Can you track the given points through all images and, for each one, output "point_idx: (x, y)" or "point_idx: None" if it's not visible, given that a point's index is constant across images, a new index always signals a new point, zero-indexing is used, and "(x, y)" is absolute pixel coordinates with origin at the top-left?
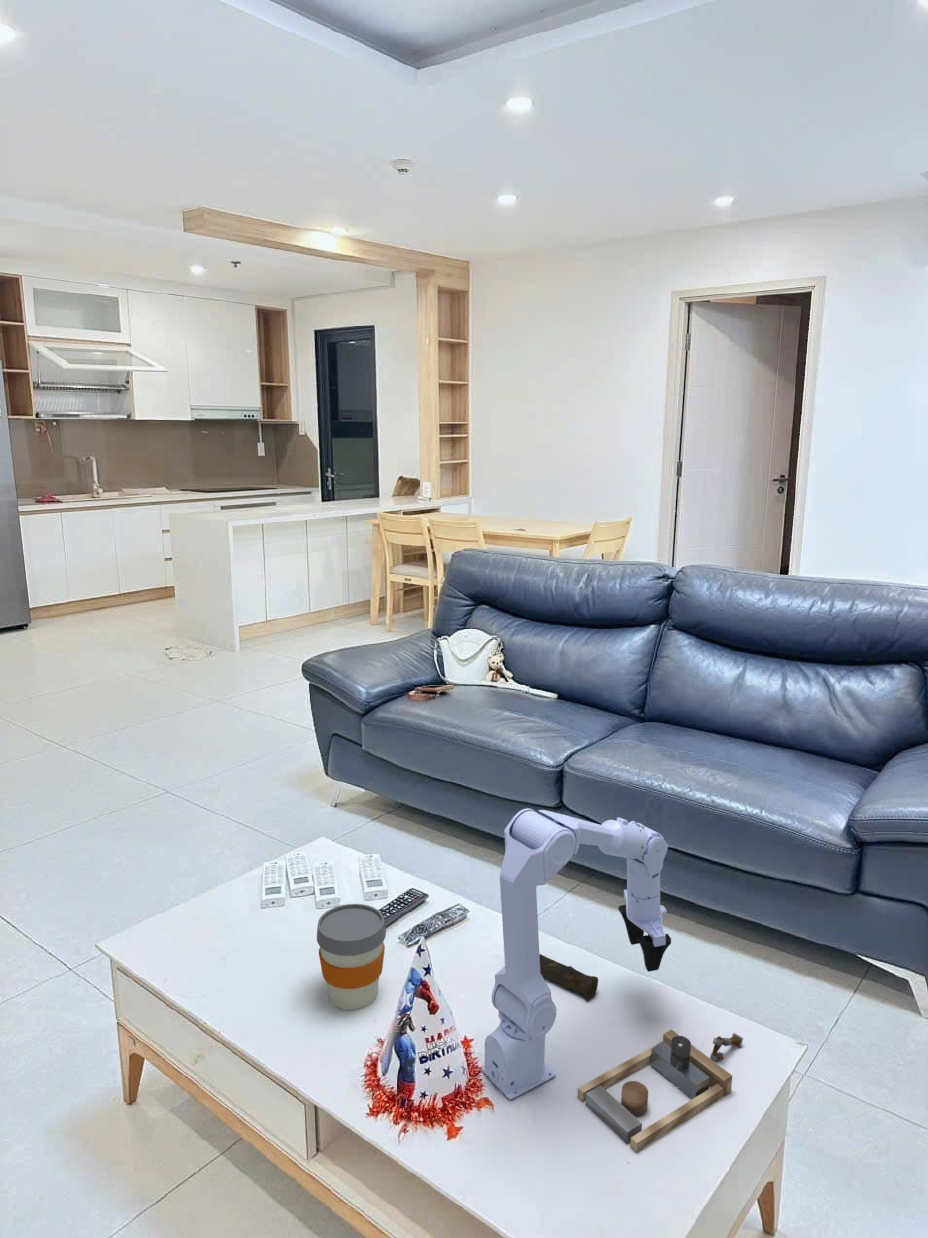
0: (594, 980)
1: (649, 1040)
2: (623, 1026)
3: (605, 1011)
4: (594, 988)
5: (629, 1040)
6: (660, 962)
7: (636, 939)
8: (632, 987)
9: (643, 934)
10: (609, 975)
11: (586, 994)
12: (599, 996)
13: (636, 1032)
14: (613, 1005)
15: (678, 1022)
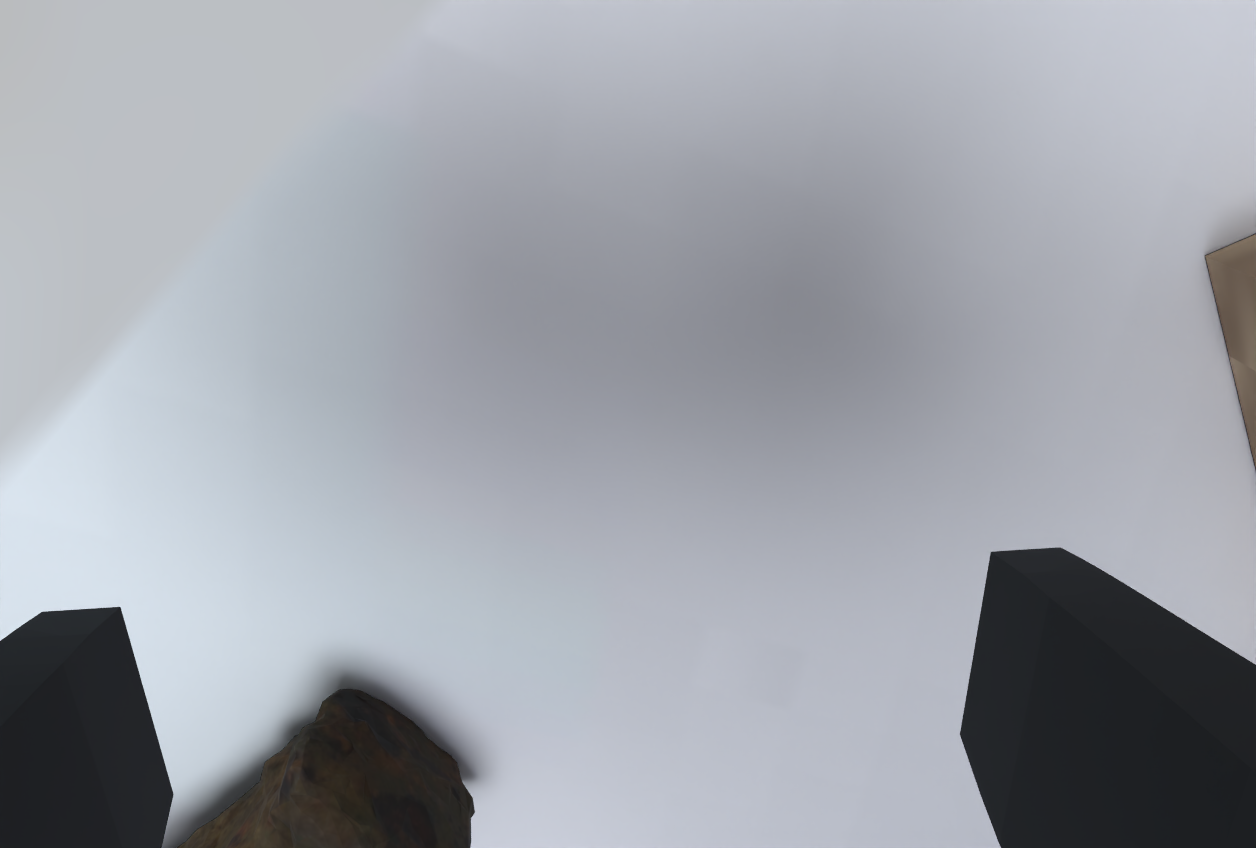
0: (380, 839)
1: (1085, 426)
2: (848, 583)
3: (624, 670)
4: (402, 774)
5: None
6: (1197, 632)
7: (108, 792)
8: (286, 322)
9: (14, 730)
10: (69, 492)
11: (470, 841)
12: (409, 665)
13: (953, 502)
14: (553, 585)
15: (937, 29)
